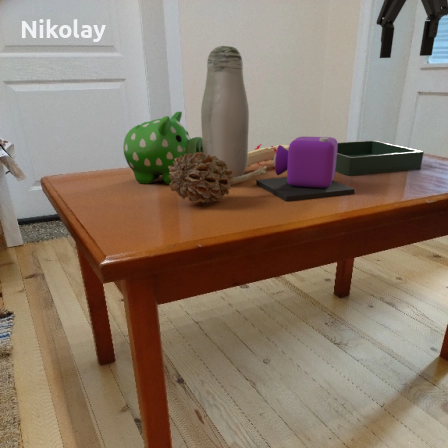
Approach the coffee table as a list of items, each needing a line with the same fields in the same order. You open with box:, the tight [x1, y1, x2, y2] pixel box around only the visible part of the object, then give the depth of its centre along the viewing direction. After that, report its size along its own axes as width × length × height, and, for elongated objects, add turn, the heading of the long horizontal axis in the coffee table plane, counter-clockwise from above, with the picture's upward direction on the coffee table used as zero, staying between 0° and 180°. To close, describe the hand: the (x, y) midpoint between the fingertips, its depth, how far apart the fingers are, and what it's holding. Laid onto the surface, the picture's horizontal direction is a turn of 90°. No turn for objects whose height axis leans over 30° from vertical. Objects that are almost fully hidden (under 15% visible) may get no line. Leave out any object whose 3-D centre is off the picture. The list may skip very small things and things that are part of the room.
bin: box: [335, 139, 425, 177], centre depth 119 cm, size 22×22×4 cm
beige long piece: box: [246, 143, 290, 170], centre depth 115 cm, size 10×9×25 cm
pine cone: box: [168, 152, 270, 204], centre depth 88 cm, size 22×10×10 cm, turn 120°
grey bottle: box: [200, 45, 250, 178], centre depth 97 cm, size 10×10×28 cm
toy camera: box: [272, 136, 339, 188], centre depth 95 cm, size 11×14×10 cm
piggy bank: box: [123, 111, 203, 185], centre depth 103 cm, size 14×18×15 cm
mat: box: [255, 176, 356, 202], centre depth 97 cm, size 16×16×1 cm
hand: (404, 57), depth 103 cm, fingers open, 13 cm apart
